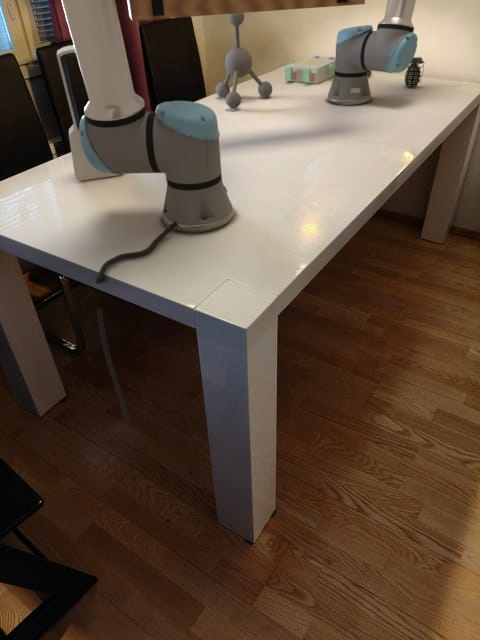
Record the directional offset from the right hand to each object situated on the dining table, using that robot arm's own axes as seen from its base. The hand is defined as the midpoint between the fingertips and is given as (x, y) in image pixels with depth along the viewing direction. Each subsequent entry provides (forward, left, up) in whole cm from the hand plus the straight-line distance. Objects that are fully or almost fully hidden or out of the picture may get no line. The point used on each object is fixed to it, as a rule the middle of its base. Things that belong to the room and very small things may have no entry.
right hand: (334, 0), depth 128 cm
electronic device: (+30, -62, -34) cm, 77 cm away
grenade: (-53, +36, -34) cm, 73 cm away
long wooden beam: (+7, -22, -1) cm, 24 cm away
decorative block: (-75, -1, -34) cm, 83 cm away
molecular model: (-41, -27, -34) cm, 60 cm away
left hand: (+15, -45, 0) cm, 47 cm away
